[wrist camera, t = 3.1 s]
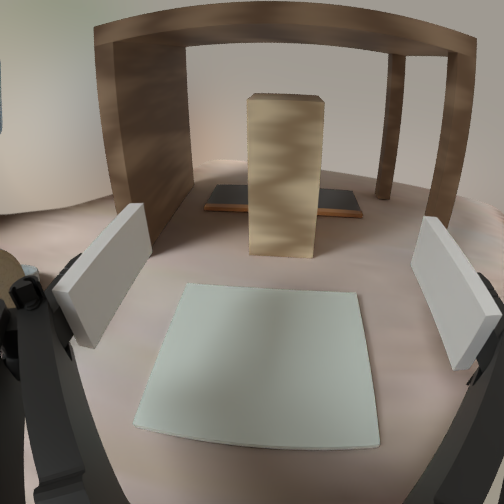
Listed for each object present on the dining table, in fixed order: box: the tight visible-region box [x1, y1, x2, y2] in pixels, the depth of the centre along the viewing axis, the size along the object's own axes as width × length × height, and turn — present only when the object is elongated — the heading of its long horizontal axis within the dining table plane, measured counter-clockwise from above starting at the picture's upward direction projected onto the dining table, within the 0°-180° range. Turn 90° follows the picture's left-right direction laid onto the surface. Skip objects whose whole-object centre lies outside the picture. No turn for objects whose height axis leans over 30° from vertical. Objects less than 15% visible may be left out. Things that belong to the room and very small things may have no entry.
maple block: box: [247, 93, 325, 258], centre depth 24 cm, size 5×5×12 cm
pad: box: [133, 283, 380, 450], centre depth 17 cm, size 12×11×1 cm
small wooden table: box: [94, 1, 477, 247], centre depth 26 cm, size 25×16×18 cm, turn 84°
